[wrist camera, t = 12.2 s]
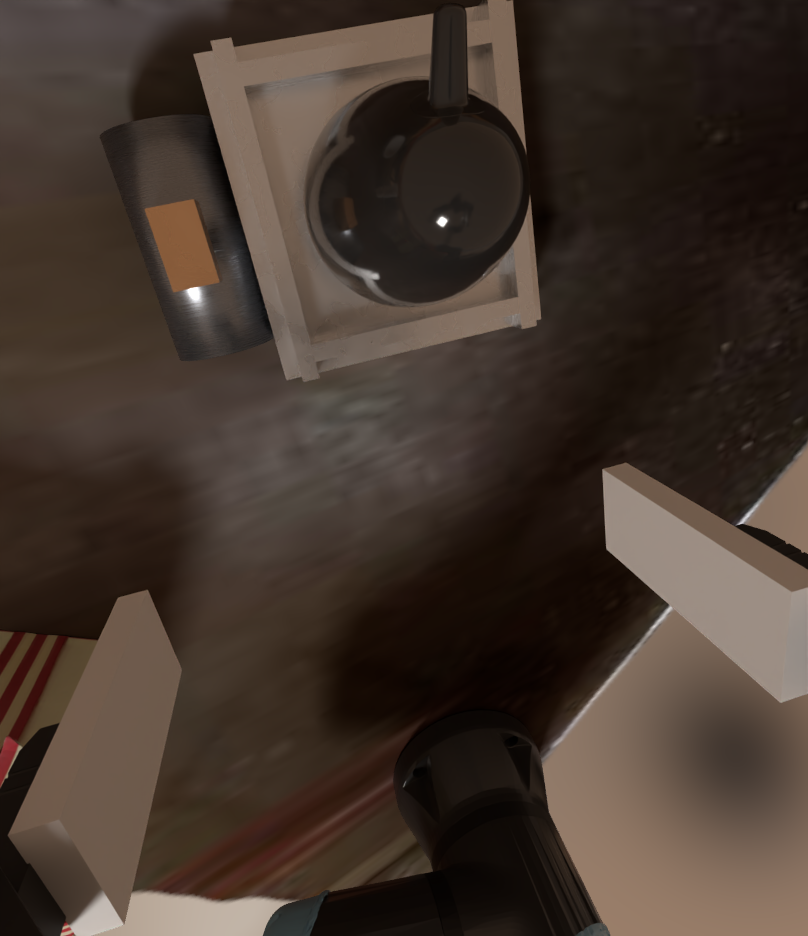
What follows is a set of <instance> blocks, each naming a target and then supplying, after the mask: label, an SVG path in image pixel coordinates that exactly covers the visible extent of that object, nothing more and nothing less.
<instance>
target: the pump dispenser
mask: <svg viewBox="0 0 808 936" xmlns="http://www.w3.org/2000/svg"><path fill="white" fill-rule="evenodd" d="M530 187H531V181H530V169H529V163H528V158H527V155H526V151H525V148H524V146H523V143H522V141H521V139H520V136H519V135H518V133H517V131H516V129H515V128H514V126H513V125H512V123H511V122H510V120H509V119H508V118H507V117H506V115H505V114H504V113H503V112H502V111H501V110H500V109H499V108H498V107H497V106H496V105H495V104H493V103H492V102H491V101H490V100H488V99H487V98H486V97H484V96H483V95H481V94H480V93H478V92H476V91H475V90H473V89H471V88H469V87H468V51H467V13H466V10H465V8H464V7H463V6H462V5H460V4H457V3H446V4H442V5H440V6H438V7H437V8H436V10H435V11H434V14H433V27H432V43H431V59H430V75H429V76H410V77H403V78H398V79H394V80H390V81H387V82H384V83H381V84H378V85H376V86H374V87H372V88H370V89H368V90H366V91H364V92H362V93H360V94H359V95H357V96H355V97H354V98H352V99H351V100H350V101H348V102H347V103H346V104H345V105H343V106H342V107H341V108H340V109H339V110H338V111H337V112H336V113H335V114H334V115H333V116H332V118H331V119H330V120H329V121H328V123H327V124H326V125H325V127H324V128H323V130H322V131H321V133H320V135H319V136H318V138H317V140H316V142H315V144H314V146H313V149H312V151H311V154H310V157H309V160H308V163H307V167H306V172H305V178H304V187H303V203H304V213H305V219H306V223H307V228H308V231H309V234H310V237H311V240H312V242H313V244H314V247H315V249H316V251H317V253H318V254H319V256H320V258H321V259H322V261H323V262H324V264H325V265H326V267H327V268H328V269H329V270H330V272H331V273H332V274H333V275H334V276H335V277H336V278H337V279H338V280H339V281H340V282H341V283H342V284H344V285H345V286H346V287H347V288H349V289H350V290H352V291H353V292H355V293H356V294H358V295H360V296H362V297H364V298H366V299H368V300H370V301H373V302H376V303H379V304H382V305H386V306H392V307H401V308H412V307H423V306H429V305H434V304H439V303H442V302H445V301H448V300H451V299H453V298H455V297H458V296H460V295H462V294H463V293H465V292H467V291H469V290H470V289H472V288H473V287H475V286H476V285H477V284H479V283H480V282H481V281H483V280H484V279H485V278H486V277H487V276H488V275H489V274H490V273H491V272H492V271H493V270H494V269H495V268H496V267H497V266H498V265H499V264H500V262H501V261H502V260H503V259H504V257H505V256H506V255H507V253H508V252H509V251H510V249H511V248H512V246H513V244H514V243H515V241H516V239H517V237H518V235H519V233H520V231H521V228H522V226H523V223H524V220H525V217H526V214H527V210H528V205H529V199H530Z"/></svg>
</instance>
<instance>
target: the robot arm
mask: <svg viewBox="0 0 808 936" xmlns="http://www.w3.org/2000/svg"><path fill="white" fill-rule="evenodd" d="M602 470H603V491H604V512H605V533H606V549H607V550H608V551H609V552H610V553H611V554H613V555H614V556H615V557H616V558H617V559H618V560H619V561H621V562H622V563H623V564H624V565H625V566H626V567H627V568H628V569H630V570H631V571H632V572H633V573H634V574H635V575H636V576H637V577H639V578H640V579H641V580H642V581H643V582H644V583H645V584H647V585H648V586H649V587H650V588H651V589H652V590H653V591H654V592H656V593H657V594H658V595H659V596H660V597H661V598H662V599H664V600H665V601H666V602H667V603H668V604H669V605H670V606H671V607H673V608H674V609H675V610H676V611H677V612H678V613H679V614H680V615H682V616H683V617H684V618H685V619H686V620H687V621H688V622H690V623H691V624H692V625H693V626H694V627H695V628H696V629H697V630H699V631H700V632H701V633H702V634H703V635H704V636H705V637H707V638H708V639H709V640H710V641H711V642H712V643H713V644H715V645H716V646H717V647H718V648H719V649H720V650H721V651H722V652H724V653H725V654H726V655H727V656H728V657H729V658H730V659H731V660H733V661H734V662H735V663H736V664H737V665H738V666H739V667H741V668H742V669H743V670H744V671H745V672H746V673H748V675H750V676H751V677H752V678H753V679H754V680H755V681H757V682H758V683H759V684H760V685H761V686H762V687H763V688H764V689H765V690H767V691H768V692H769V693H770V694H771V695H772V696H773V697H775V698H776V699H777V700H778V701H779V702H780V703H782V702H784V701H787V700H790V699H793V698H796V697H799V696H802V695H805V694H808V554H807V553H805V552H804V553H802V552H801V550H799V549H798V548H796V547H794V546H792V545H791V544H786V543H785V541H783V540H782V539H780V538H778V537H776V536H775V535H773V534H771V533H769V532H767V531H765V530H761V529H758V528H754V527H751V526H748V525H745V524H740V525H737V526H733V525H731V524H729V523H728V522H726V521H724V520H723V519H721V518H719V517H717V516H716V515H714V514H712V513H711V512H709V511H707V510H706V509H704V508H702V507H700V506H699V505H697V504H695V503H694V502H692V501H690V500H689V499H687V498H685V497H683V496H682V495H680V494H678V493H677V492H675V491H673V490H672V489H670V488H668V487H666V486H665V485H663V484H661V483H660V482H658V481H656V480H654V479H653V478H651V477H649V476H648V475H646V474H644V473H643V472H641V471H639V470H637V469H636V468H634V467H632V466H631V465H629V464H627V463H624V464H620V465H616V466H612V467H609V468H605V469H602ZM181 672H182V669H181V667H180V664H179V662H178V660H177V657H176V655H175V652H174V650H173V648H172V645H171V643H170V641H169V638H168V636H167V634H166V631H165V629H164V627H163V624H162V622H161V620H160V617H159V615H158V613H157V610H156V608H155V606H154V603H153V601H152V599H151V596H150V594H149V592H148V590H145V591H141V592H137V593H133V594H129V595H126V596H122V597H118V599H117V601H116V603H115V605H114V607H113V609H112V612H111V614H110V616H109V618H108V620H107V622H106V624H105V627H104V629H103V631H102V633H101V635H100V637H99V640H98V642H97V644H96V646H95V648H94V650H93V653H92V655H91V657H90V659H89V661H88V663H87V666H86V668H85V670H84V672H83V674H82V676H81V679H80V681H79V683H78V685H77V687H76V689H75V691H74V694H73V696H72V698H71V700H70V702H69V704H68V707H67V709H66V711H65V713H64V715H63V717H62V720H61V722H60V723H57V724H54V725H50V726H47V727H43V728H40V729H39V730H38V731H37V732H36V733H35V734H34V736H33V737H32V738H31V739H30V740H29V741H28V742H27V743H26V744H25V746H24V747H23V748H22V749H21V750H20V751H19V753H18V755H17V757H16V759H15V761H14V763H13V764H12V766H11V768H10V770H9V772H8V778H5V780H4V782H3V784H2V786H1V788H0V936H61V932H62V929H63V926H64V923H65V921H66V922H67V924H68V925H69V927H70V928H71V929H72V931H73V932H74V934H75V935H76V936H93V935H96V934H99V933H102V932H105V931H108V930H111V929H114V928H117V927H120V926H123V925H124V923H125V919H126V915H127V910H128V905H129V901H130V897H131V893H132V888H133V884H134V879H135V875H136V870H137V866H138V862H139V857H140V853H141V848H142V844H143V840H144V835H145V831H146V826H147V822H148V818H149V813H150V809H151V804H152V800H153V795H154V791H155V787H156V782H157V778H158V773H159V769H160V765H161V760H162V756H163V751H164V747H165V743H166V738H167V734H168V729H169V725H170V721H171V716H172V712H173V707H174V703H175V698H176V694H177V690H178V685H179V681H180V676H181ZM393 783H394V790H395V794H396V799H397V803H398V807H399V810H400V812H401V815H402V817H403V819H404V820H405V822H406V823H407V825H408V827H409V828H410V830H411V831H412V833H413V835H414V836H415V838H416V839H417V841H418V843H419V844H420V846H421V847H422V849H423V851H424V852H425V854H426V855H427V857H428V859H429V860H430V862H431V866H432V869H433V872H429V873H425V874H418V875H413V876H409V877H404V878H399V879H394V880H390V881H385V882H380V883H375V884H369V885H364V886H359V887H354V888H348V889H343V890H338V891H333V892H331V891H329V890H325V891H323V892H322V893H321V894H320V895H318V896H314V897H311V898H307V899H303V900H300V901H296V902H292V903H288V904H286V905H283V906H282V907H280V908H279V909H278V910H277V911H276V912H275V913H274V914H273V915H272V917H271V918H270V920H269V921H268V923H267V925H266V928H265V931H264V934H263V936H610V933H609V931H608V929H607V927H606V925H605V924H603V922H602V920H601V919H600V916H599V914H598V912H597V910H596V908H595V906H594V904H593V902H592V900H591V898H590V896H589V894H588V892H587V890H586V888H585V886H584V883H583V881H582V879H581V877H580V875H579V874H578V871H577V869H576V867H575V865H574V863H573V861H572V859H571V857H570V855H569V853H568V851H567V849H566V847H565V845H564V843H563V841H562V839H561V837H560V834H559V833H558V831H557V828H556V826H555V824H554V822H553V820H552V818H551V816H550V813H549V810H548V803H547V796H546V789H545V782H544V775H543V768H542V761H541V757H540V754H539V751H538V748H537V746H536V744H535V742H534V741H533V739H532V737H531V735H530V733H529V731H528V730H527V728H526V727H525V726H524V725H523V724H522V723H521V722H520V721H519V720H517V719H516V718H514V717H512V716H510V715H508V714H505V713H502V712H497V711H490V710H476V711H468V712H463V713H459V714H455V715H452V716H450V717H447V718H445V719H442V720H440V721H438V722H436V723H434V724H433V725H431V726H429V727H428V728H426V729H425V730H424V731H422V732H421V733H420V734H419V735H417V736H416V737H415V738H414V739H413V740H412V741H411V742H410V743H409V745H408V746H407V747H406V748H405V750H404V751H403V753H402V754H401V756H400V758H399V760H398V762H397V764H396V767H395V771H394V778H393Z"/></svg>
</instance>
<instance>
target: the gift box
mask: <svg viewBox="0 0 808 936" xmlns="http://www.w3.org/2000/svg"><path fill="white" fill-rule="evenodd" d="M97 642H98V640H96V639H85V638H75V637H69V636H60V635H42V634H33V633H27V632H11V631H4V630H0V788H1V786H2V784H3V782H4V780H5V778H8V772H9V770H10V768H11V766H12V764H13V763H14V761H15V759H16V757H17V755H18V753H19V751H20V750H21V749H22V748H23V747H24V746H25V744H26V743H27V742H28V741H29V740H30V739H31V738H32V737H33V736H34V734H35V733H36V732H37V731H38V730H39V729H40V728H43V727H47V726H50V725H54V724H57V723H60V722H61V720H62V717H63V715H64V713H65V711H66V709H67V707H68V704H69V702H70V700H71V698H72V696H73V694H74V691H75V689H76V687H77V685H78V683H79V681H80V679H81V676H82V674H83V672H84V670H85V668H86V666H87V663H88V661H89V659H90V657H91V655H92V653H93V650H94V648H95V646H96V644H97ZM61 936H76V935H75V934H74V932H73V931H72V929H71V928H70V927H69V925H68V924H67V922H66V921H65V923H64V926H63V929H62V932H61Z"/></svg>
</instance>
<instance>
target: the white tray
mask: <svg viewBox="0 0 808 936" xmlns="http://www.w3.org/2000/svg"><path fill="white" fill-rule="evenodd" d="M465 10H466V13H467V51H468V87H469V88H471V89H473V90H475V91H476V92H478V93H480V94H481V95H483V96H484V97H486V98H487V99H488V100H490V101H491V102H492V103H493V104H495V105H496V106H497V107H498V108H499V109H500V110H501V111H502V112H503V113H504V114H505V115H506V117H507V118H508V119H509V120H510V122H511V123H512V125H513V126H514V128H515V129H516V131H517V133H518V135H519V136H520V139H521V141H522V143H523V146H524V148H525V151H526V143H525V132H524V121H523V109H522V98H521V87H520V76H519V65H518V53H517V42H516V31H515V20H514V8H513V0H511V1H506V0H482V1H481V3H480V4H479V5H478V6H475V7H469V8H465ZM432 27H433V14H428V15H422V16H416V17H410V18H404V19H398V20H392V21H386V22H380V23H374V24H368V25H362V26H357V27H351V28H345V29H339V30H333V31H327V32H321V33H315V34H309V35H303V36H297V37H291V38H285V39H279V40H273V41H267V42H262V43H256V44H250V45H244V46H238V47H234V46H233V42H232V39H231V38H225V39H219V40H213V41H210V42H211V45H212V49H213V51H208V52H202V53H196V54H194V58H195V61H196V65H197V68H198V72H199V75H200V79H201V82H202V86H203V89H204V93H205V96H206V100H207V103H208V107H209V110H210V114H211V117H210V116H206V115H197V114H181V115H168V116H160V117H153V118H147V119H142V120H137V121H133V122H129V123H125V124H122V125H118V126H116V127H113V128H110V129H108V130H106V131H104V132H103V133H102V134H101V135H100V139H101V142H102V144H103V147H104V150H105V153H106V156H107V158H108V161H109V164H110V167H111V169H112V172H113V175H114V178H115V181H116V183H117V186H118V189H119V192H120V194H121V197H122V200H123V203H124V206H125V208H126V211H127V214H128V217H129V220H130V222H131V225H132V228H133V231H134V233H135V236H136V239H137V242H138V245H139V247H140V250H141V253H142V256H143V258H144V261H145V264H146V267H147V270H148V272H149V275H150V278H151V281H152V283H153V286H154V289H155V292H156V295H157V297H158V300H159V303H160V306H161V308H162V311H163V314H164V317H165V320H166V322H167V325H168V328H169V331H170V333H171V336H172V339H173V342H174V345H175V347H176V350H177V353H178V356H179V358H180V360H182V361H194V360H202V359H208V358H214V357H219V356H223V355H227V354H232V353H235V352H239V351H242V350H246V349H249V348H252V347H255V346H258V345H260V344H263V343H265V342H267V341H269V340H271V339H273V338H275V342H276V345H277V349H278V352H279V356H280V359H281V363H282V366H283V370H284V373H285V377H286V380H290V379H294V378H298V377H302V379H303V382H306V381H310V380H314V379H318V378H320V377H319V374H318V373H319V372H323V371H327V370H332V369H336V368H340V367H344V366H348V365H352V364H356V363H361V362H365V361H369V360H373V359H377V358H381V357H386V356H390V355H394V354H398V353H402V352H406V351H410V350H415V349H419V348H423V347H427V346H431V345H435V344H440V343H444V342H448V341H452V340H456V339H460V338H464V337H469V336H473V335H477V334H481V333H485V332H489V331H493V330H498V329H502V328H506V327H510V326H514V327H517V328H520V329H525V328H529V327H533V326H537V324H536V320H539V319H541V311H540V300H539V289H538V278H537V266H536V255H535V244H534V233H533V222H532V210H531V199H529V205H528V210H527V214H526V217H525V220H524V223H523V226H522V228H521V231H520V233H519V235H518V237H517V239H516V241H515V243H514V244H513V246H512V248H511V249H510V251H509V252H508V253H507V255H506V256H505V257H504V259H503V260H502V261H501V262H500V264H499V265H498V266H497V267H496V268H495V269H494V270H493V271H492V272H491V273H490V274H489V275H488V276H487V277H486V278H485V279H484V280H483V281H481V282H480V283H479V284H477V285H476V286H475V287H473V288H472V289H470V290H469V291H467V292H465V293H463V294H462V295H460V296H458V297H455V298H453V299H451V300H448V301H445V302H442V303H439V304H434V305H429V306H423V307H412V308H401V307H392V306H386V305H382V304H379V303H376V302H373V301H370V300H368V299H366V298H364V297H362V296H360V295H358V294H356V293H355V292H353V291H352V290H350V289H349V288H347V287H346V286H345V285H344V284H342V283H341V282H340V281H339V280H338V279H337V278H336V277H335V276H334V275H333V274H332V273H331V272H330V270H329V269H328V268H327V267H326V265H325V264H324V262H323V261H322V259H321V258H320V256H319V254H318V253H317V251H316V249H315V247H314V244H313V242H312V240H311V237H310V234H309V231H308V228H307V223H306V219H305V213H304V203H303V187H304V178H305V172H306V167H307V163H308V160H309V157H310V154H311V151H312V149H313V146H314V144H315V142H316V140H317V138H318V136H319V135H320V133H321V131H322V130H323V128H324V127H325V125H326V124H327V123H328V121H329V120H330V119H331V118H332V116H333V115H334V114H335V113H336V112H337V111H338V110H339V109H340V108H341V107H342V106H343V105H345V104H346V103H347V102H348V101H350V100H351V99H352V98H354V97H355V96H357V95H359V94H360V93H362V92H364V91H366V90H368V89H370V88H372V87H374V86H376V85H378V84H381V83H384V82H387V81H390V80H394V79H398V78H403V77H410V76H429V75H430V59H431V43H432ZM526 155H527V154H526Z"/></svg>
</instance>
